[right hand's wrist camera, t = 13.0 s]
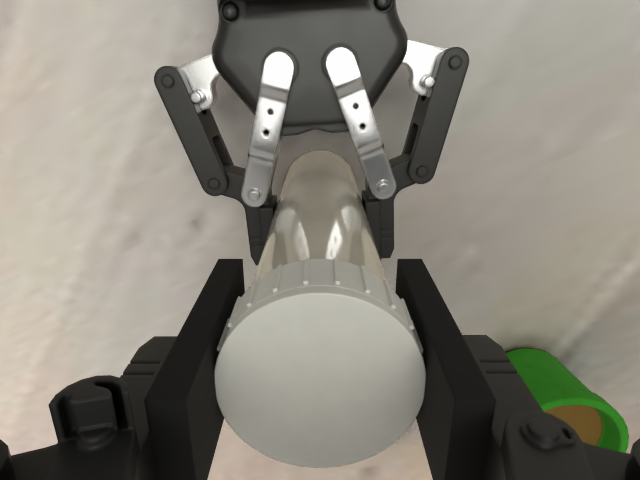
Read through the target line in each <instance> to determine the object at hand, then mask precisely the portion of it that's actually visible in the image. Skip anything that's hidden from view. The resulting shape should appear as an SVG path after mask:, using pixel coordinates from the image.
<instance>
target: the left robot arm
mask: <svg viewBox="0 0 640 480" xmlns="http://www.w3.org/2000/svg"><path fill="white" fill-rule="evenodd" d="M217 4H218V12H219V25H218V31H217V35H216V37H215V40H214V42H213V46H212V54H209V55H207V56H204V57H202V58H199V59H197V60H194V61H192V62H189V63H187V64H184V65H182V66H164V67H161V68H159V69H158V70H157V71H156V73H155V76H154V82H155V86H156V88H157V90H158V92H159V94H160V97H161V99H162V101H163V103H164V105H165V107H166V110H167V112H168V114H169V116H170V118H171V120H172V123H173V125H174V127H175V129H176V131H177V134H178V136H179V138H180V140H181V142H182V144H183V147H184V149H185V151H186V153H187V155H188V157H189V160H190V162H191V164H192V166H193V168H194V170H195V173H196V175H197V177H198V179H199V181H200V184H201V186H202V188H203V190H204V191H205V192H206V193H207V194H209V195H212V196H219V195H224V196H227V197H231V198H234V199H236V200H238V201H239V202H241V203H242V205H243V206H244V208H245V212H246V220H247V227H248V235H249V243H250V251H251V257H252V259H253V261H254V262H255V264H256V265H258V264H259V261H260V258H261V255H262V252H263V249H264V245H265V242H266V239H267V236H268V233H269V229H270V226H271V223H272V220H273V217H274V214H275V210H276V207H277V195H274V196H272V188H271V187H272V183H273V178H274V173H275V169H276V164H277V160H278V155H279V151H280V148H281V144H282V139H283V136H287V135H298V134H301V133H304V132H307V131H310V130H313V129H317V130H322V131H327V132H332V133H334V132H349V134H350V136H351V139H352V142H353V145H354V147H355V150H356V153H357V155H358V158H359V161H360V164H361V167H362V169H363V172H364V175H365V183H366V190H362V203H363V206H364V209H365V212H366V216H367V219H368V222H369V225H370V228H371V232H372V235H373V238H374V241H375V244H376V247H377V251H378V254H379V257H380V260H381V258H390V257H391V254H392V252H393V249H394V198H395V196H396V194H397V193H398V192H399V191H400V190H401V189H403V188H405V187H408V186H410V185H412V184H415V183H418V184H424V183H427V182H429V181H430V180H431V179H432V178H433V176H434V174H435V171H436V167H437V164H438V161H439V158H440V155H441V151H442V148H443V145H444V142H445V139H446V135H447V132H448V129H449V126H450V123H451V119H452V116H453V113H454V110H455V107H456V103H457V100H458V97H459V94H460V91H461V88H462V84H463V81H464V78H465V75H466V72H467V68H468V65H469V57H468V54H467V52H466V51H465V50H464V49H462V48H459V47H448V48H439V47H435V46H431V45H427V44H423V43H419V42H414V41H410V40H408V39H407V34H406V31H405V29H404V27H403V26H402V24H401V22H400V19H399V17H398V14H397V10H396V2H395V0H217ZM401 63H402V64H404V65H405V66H406V67H407V69H408V71H409V86H410V88H411V90H412V91H413V92H414V93H416V94H419V96H418V99H417V103H416V106H415V110H414V113H413V117H412V120H411V124H410V127H409V131H408V134H407V138H406V141H405V145H404V149H403V152H402V155H400V156H398V157H395V158H393V159H391V160H388V158H387V155H386V152H385V149H384V144H383V141H382V138H381V135H380V132H379V129H378V126H377V123H376V120H375V117H374V114H373V111H372V108H373V106H374V105H375V103H376V102H377V100H378V98H379V97H380V95H381V94H382V92H383V91H384V89H385V88H386V86H387V85H388V83H389V81H390V80H391V78H392V77H393V75H394V74H395V72H396V71H397V69H398V68H399V66H400V65H401ZM220 76H222V77H223V78H224V80H225V81H226V82H227V83H228V84H229V85H230V87H231V88H232V89H233V90H234V91H235V93H236V94H237V95H238V96H239V97H240V98H241V100H242V101H243V102H244V103H245V104H246V105H247V107H248V108H249V109H250V110H251V111H252V112H253V114H254V115H255V119H254V124H253V129H252V134H251V139H250V145H249V150H248V161H247V166H246V169H244V168H240V167H237V166H234V164H233V162H232V160H231V157H230V155H229V153H228V150H227V148H226V146H225V143H224V141H223V139H222V136H221V134H220V132H219V129H218V127H217V125H216V122H215V120H214V118H213V115H212V113H211V111H210V108H211V107H212V106H214V104H215V103H216V101H217V92H216V82H217V80H218V78H219V77H220Z"/></svg>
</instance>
